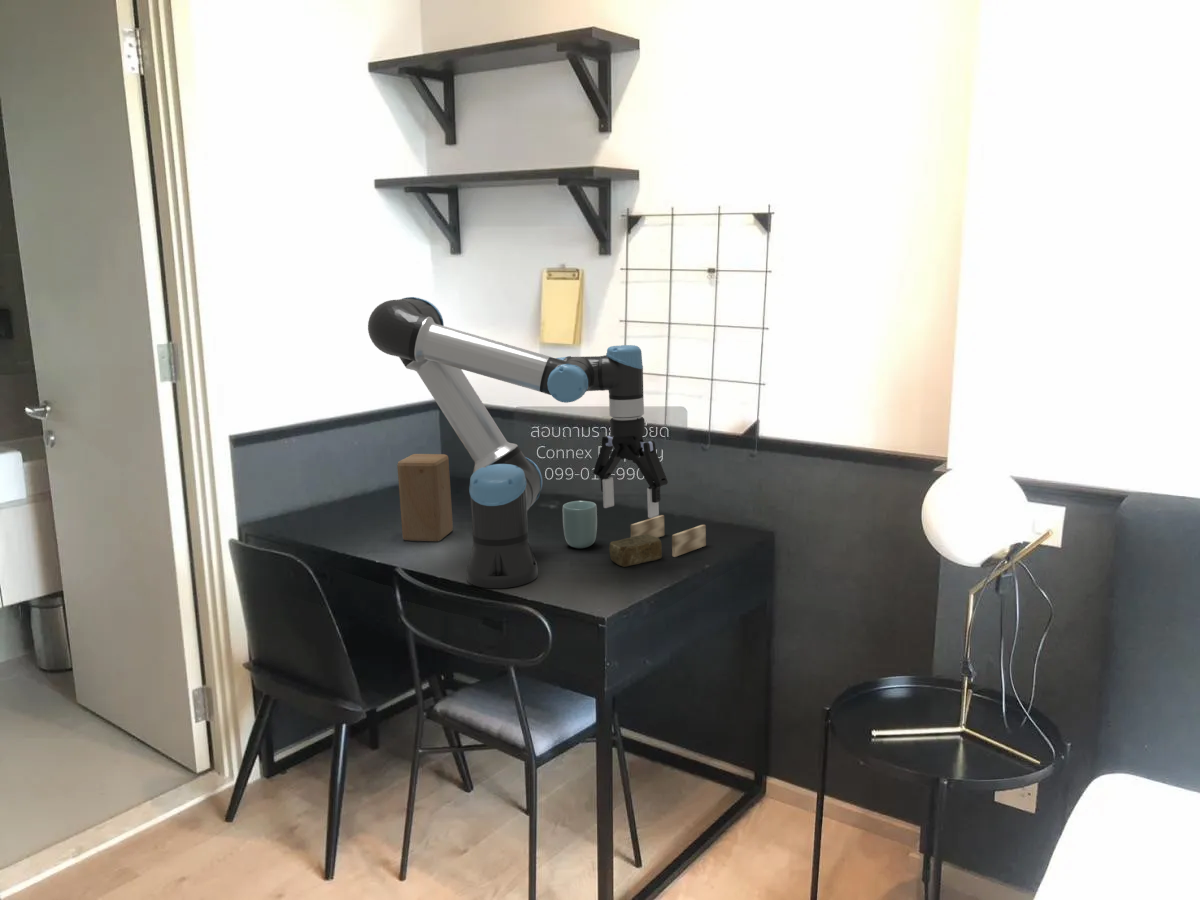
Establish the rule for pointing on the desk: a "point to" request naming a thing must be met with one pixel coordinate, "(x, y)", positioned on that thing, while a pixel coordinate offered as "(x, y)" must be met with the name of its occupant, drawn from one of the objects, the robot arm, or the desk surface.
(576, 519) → the cup
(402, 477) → the wooden block
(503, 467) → the robot arm
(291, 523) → the desk surface
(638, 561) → the stone block
